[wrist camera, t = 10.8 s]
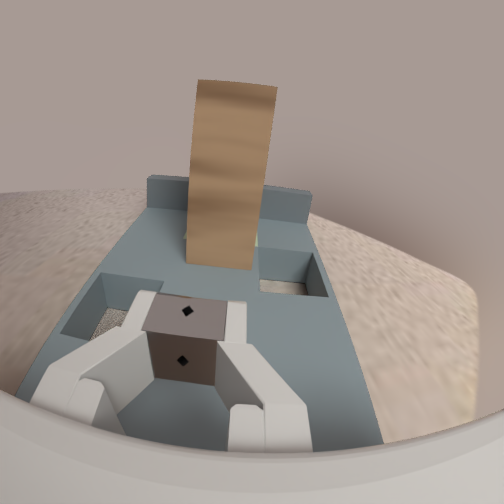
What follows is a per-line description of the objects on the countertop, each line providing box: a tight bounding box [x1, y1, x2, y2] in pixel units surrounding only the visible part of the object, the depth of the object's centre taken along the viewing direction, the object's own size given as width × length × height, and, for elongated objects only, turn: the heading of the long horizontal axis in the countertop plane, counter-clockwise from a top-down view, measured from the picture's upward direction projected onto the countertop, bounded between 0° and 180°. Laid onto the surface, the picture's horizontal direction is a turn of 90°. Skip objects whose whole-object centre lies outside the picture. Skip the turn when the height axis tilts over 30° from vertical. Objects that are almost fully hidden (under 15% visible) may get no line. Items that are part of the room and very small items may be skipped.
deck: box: [14, 175, 384, 452], centre depth 18 cm, size 26×16×6 cm, turn 0°
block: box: [186, 80, 277, 270], centre depth 21 cm, size 8×4×12 cm, turn 0°
